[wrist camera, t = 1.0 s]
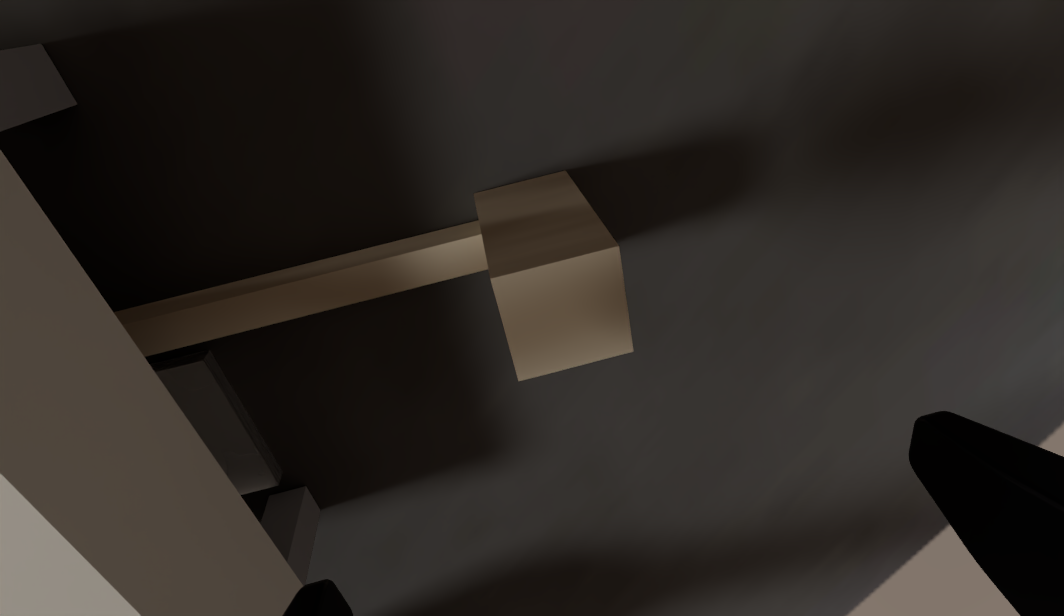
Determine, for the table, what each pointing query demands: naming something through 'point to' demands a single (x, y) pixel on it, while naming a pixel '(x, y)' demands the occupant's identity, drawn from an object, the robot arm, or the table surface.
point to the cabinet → (110, 441)
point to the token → (220, 420)
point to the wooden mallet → (489, 243)
